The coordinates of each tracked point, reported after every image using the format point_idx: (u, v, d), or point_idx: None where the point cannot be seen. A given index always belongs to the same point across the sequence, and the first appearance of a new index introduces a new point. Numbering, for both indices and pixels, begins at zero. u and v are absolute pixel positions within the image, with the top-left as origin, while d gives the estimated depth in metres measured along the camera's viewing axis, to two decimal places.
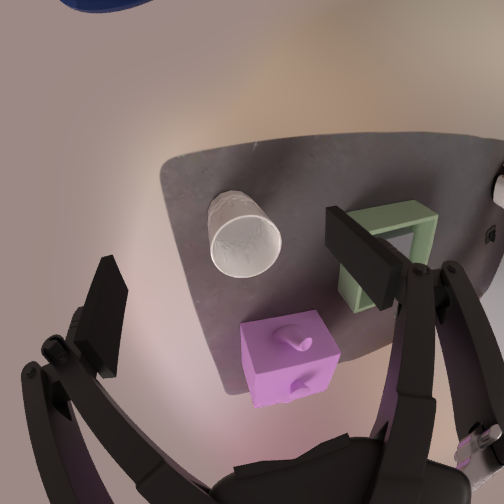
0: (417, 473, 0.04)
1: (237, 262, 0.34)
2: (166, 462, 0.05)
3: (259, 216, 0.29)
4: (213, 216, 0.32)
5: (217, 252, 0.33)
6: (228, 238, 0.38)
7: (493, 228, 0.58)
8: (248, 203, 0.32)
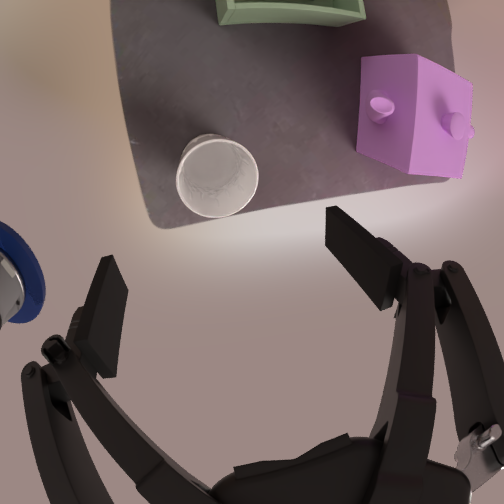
0: (417, 473, 0.04)
1: (247, 176, 0.29)
2: (166, 462, 0.05)
3: (178, 169, 0.24)
4: None
5: (232, 197, 0.30)
6: (232, 168, 0.33)
7: None
8: None
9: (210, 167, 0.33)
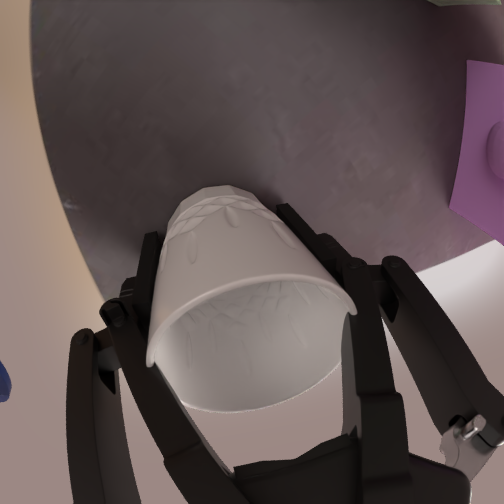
0: (402, 469, 0.04)
1: (316, 312, 0.12)
2: (203, 444, 0.06)
3: (148, 354, 0.08)
4: None
5: (278, 347, 0.14)
6: None
7: None
8: None
9: None
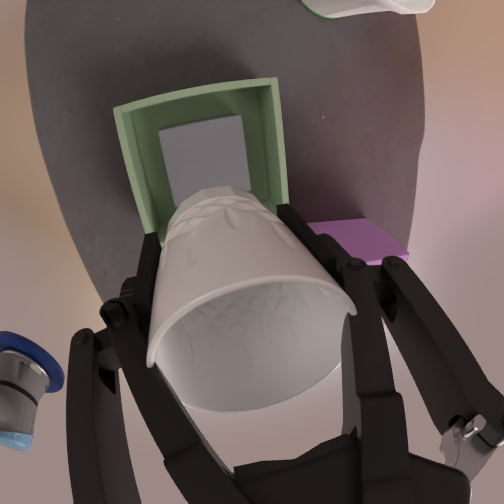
0: (403, 469, 0.04)
1: (316, 313, 0.12)
2: (203, 444, 0.06)
3: (148, 356, 0.08)
4: None
5: (278, 348, 0.14)
6: None
7: None
8: (154, 289, 0.11)
9: None
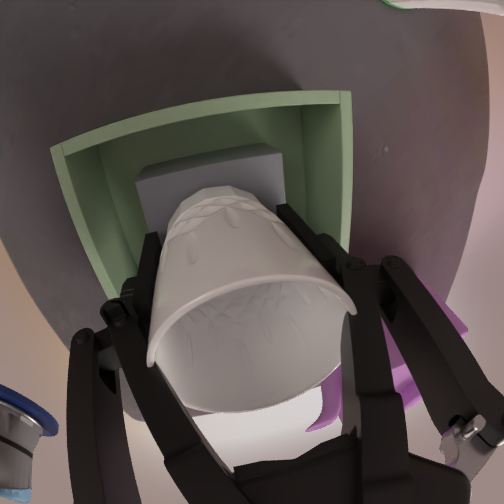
0: (402, 469, 0.04)
1: (316, 313, 0.12)
2: (203, 444, 0.06)
3: (149, 355, 0.08)
4: None
5: (278, 347, 0.14)
6: None
7: None
8: (154, 289, 0.11)
9: None
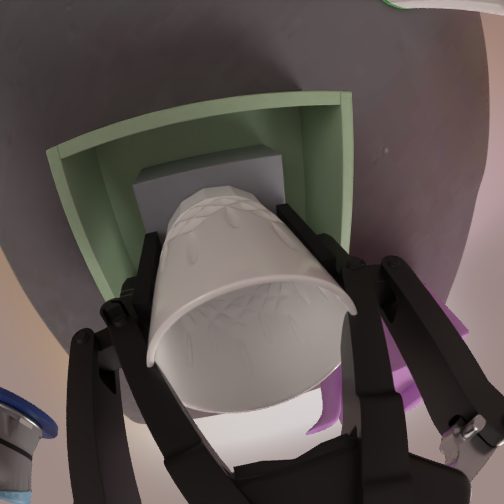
0: (402, 469, 0.04)
1: (316, 313, 0.12)
2: (203, 444, 0.06)
3: (148, 355, 0.08)
4: None
5: (278, 347, 0.14)
6: None
7: None
8: None
9: None
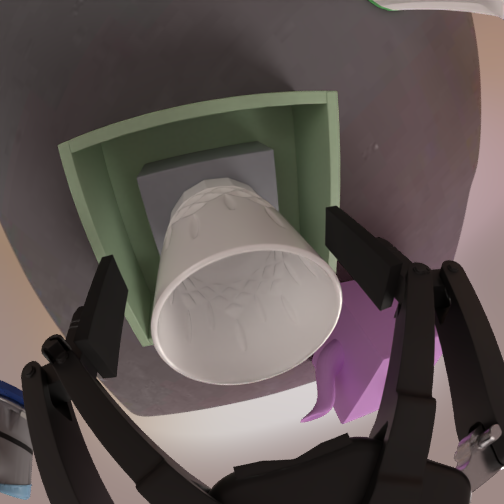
0: (417, 473, 0.04)
1: (306, 291, 0.14)
2: (166, 462, 0.05)
3: (153, 318, 0.09)
4: None
5: (271, 325, 0.15)
6: None
7: None
8: None
9: None
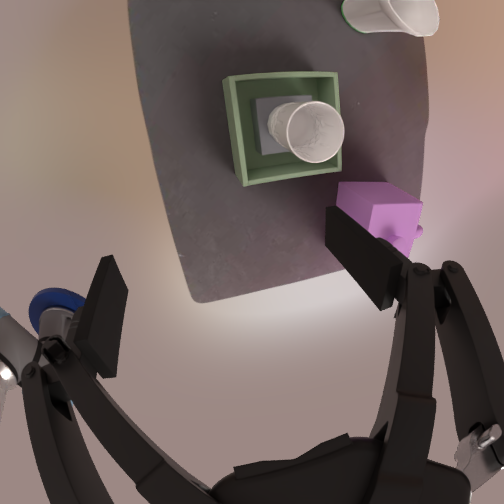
0: (417, 473, 0.04)
1: (330, 135, 0.34)
2: (166, 462, 0.05)
3: (289, 119, 0.29)
4: None
5: (318, 151, 0.35)
6: (310, 132, 0.38)
7: None
8: (278, 119, 0.32)
9: (293, 129, 0.38)
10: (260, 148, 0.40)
